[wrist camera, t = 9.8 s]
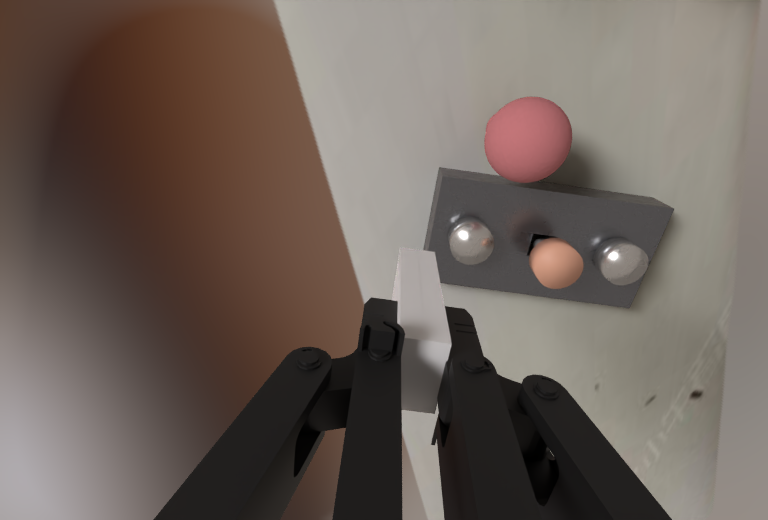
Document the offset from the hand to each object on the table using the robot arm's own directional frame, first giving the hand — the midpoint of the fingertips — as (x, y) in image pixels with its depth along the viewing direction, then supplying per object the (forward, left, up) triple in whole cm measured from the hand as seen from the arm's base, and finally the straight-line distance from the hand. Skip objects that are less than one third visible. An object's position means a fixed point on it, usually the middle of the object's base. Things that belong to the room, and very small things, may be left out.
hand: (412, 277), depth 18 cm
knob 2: (+7, +16, -26) cm, 31 cm away
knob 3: (+7, +24, -29) cm, 38 cm away
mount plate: (+7, +16, -29) cm, 34 cm away
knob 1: (+7, +8, -29) cm, 31 cm away
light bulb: (-4, +10, -30) cm, 31 cm away
